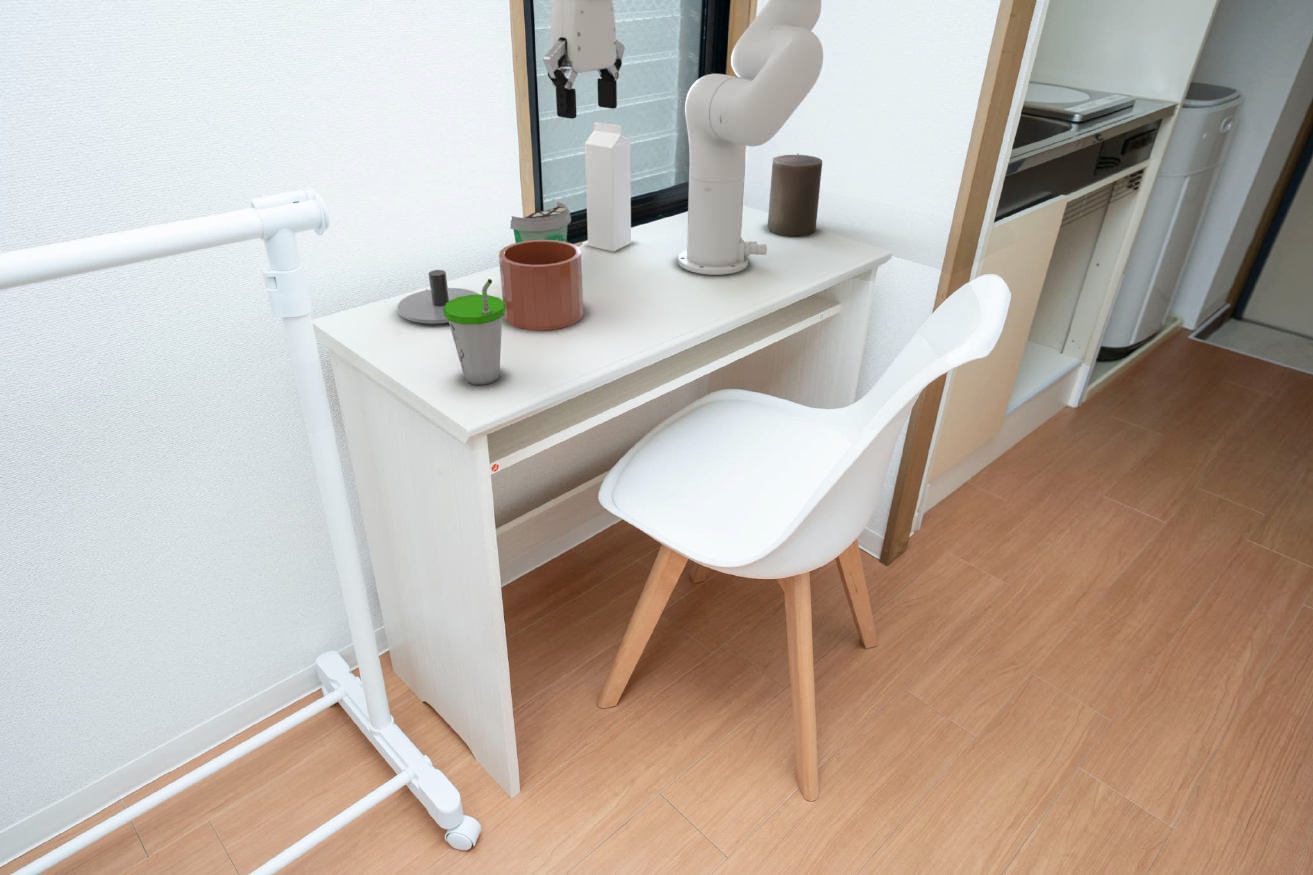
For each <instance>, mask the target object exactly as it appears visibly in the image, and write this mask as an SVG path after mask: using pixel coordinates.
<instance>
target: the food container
mask: <svg viewBox="0 0 1313 875" xmlns="http://www.w3.org/2000/svg"><path fill="white" fill-rule="evenodd" d="M571 222H572V217H571V213H570V210H569V209H568V206H567V204H565V203H563V202H559V201H556V206H555V207H553V208H550V209H547V210H537V211H534V212H532V213H531V214H529V215H527V216H525V217H518V216H513V215H512V216H511V220H510V226H509V228H510V229H511V230H513V235H514V241H515V243H518V242H523V241H530V240H557V241H563V242H568V225H569V224H570V223H571Z"/></svg>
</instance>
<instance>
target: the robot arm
mask: <svg viewBox="0 0 1313 875" xmlns="http://www.w3.org/2000/svg"><path fill="white" fill-rule="evenodd" d="M821 11H822V0H768V1H767V2H766V4H765V5H764V6H763V8H762V10H761V11H760V12H758V15H756V17H755V18H754V19H753V20H752V22H751V23H750V24H749V26H748V27H747V28H746V29H745V31H744V32H743V33H742V35H741V36H740V37H739V39H738V40H737V42H736V44H734V47H733V49H732V52H731V56H730V63H731V64H730V65H731V69H732V70H733V72H734V74H735V75H736V76H734V75H728V74H723V73H711V74H705V75H703V76H701V77H700V78H698V79H697V80H695V82H694V83H692V85H691V87H690V88H689V90H688V92H687V94H686V98H685V106H684V113H685V114H684V115H685V123H686V129H687V136H688V147H689V150H688V151H689V168H688V169H689V170H688V172H689V173H688V197H687V198H688V199H687V200H688V201H687V203H688V204H687V208H688V209H687V231H686V232H687V236H686V241H687V242H686V249H685V250H683V251H682V252H680V253H679V254H678V256H677V263H678V265H679V266H680V267H681V268H682V269H683V270H686V271H688V272H691V273H695V274H701V275H709V276H721V275H722V276H723V275H730V274H735V273H736V274H737V273H739V272H741V271H744V270H745V269H747V267H748V265H749V257H750V255H756V256H766V255H767V253H768V246H767V243H758V241H757V240H749V241H745V240H744V239H743V238H742V226H743V212H744V211H743V210H744V196H745V195H744V194H745V180H746V179H745V178H746V158H745V157H746V154H745V150H744V149H745V148H744V146H745V147H758V146H759V147H760V146H762V145H764V144H766V143H767V142H769V141H770V140H771V139H773V137H775V135H777V133H778V132H779V131H780V130H781V129H782V128H783V127H784V125H785V124H786V123H787V121H788V120H789V119H790V117H791V116H792V115H793V114H794V113H795V111H796V110H797V109H798V108H799V106H800V105H801V104H802V102H803V101H804V100H805V98H806V97H807V96H808V95H809V94H810V92H811V90H812V89H813V88H814V86H815V84H816V83H817V82H818V81H817V80H818V79H819V76H820V74H821V71H822V68H823V63H824V49H823V44H822V42H821V40H820V38H819V37H818V36H817V34H816V33H814V32H813V29H814V28H815V26H816V25H817V23H818V21H819V19H820V16H821V13H822V12H821ZM550 15H551V16H550V49H549V51H547V52H546V54H545V55H544V56H543V60H542V61H543V64H544V66H545V68H546V71H547V77H548V78H549V80H550V81H551V83H552V84H551V85H552V87H553V88H554V89H555V103H556V116H557V117H558V118H565V119H571V120H573V119H576V118H577V93H576V92H577V91H576V88H573V86H574V85H575V84H574V83H575V81H576V79H577V77H578V74H582V73H583V74H584V73H589V72H594V71H596V72H597V73H598V75H599V77H598V78H597V81H596V82H597V83H596V84H597V105H598V107H599V108H605V109H611V110H612V109H617V107H618V90H617V88H618V86H617V83H618V82H617V80H619V78H620V73H619V71H620V69H621V68H622V65H623V61H622V60H623V58H624V54H625V50H626V49H625V45H624V44H623V43H621V42H620V41H619V40H618V39H617V30H616V16H615V9H614V0H552V4H551V14H550ZM566 74H567V75H566Z"/></svg>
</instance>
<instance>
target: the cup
mask: <svg viewBox="0 0 1313 875" xmlns="http://www.w3.org/2000/svg"><path fill="white" fill-rule="evenodd" d="M492 283H493V279H491V278H488V279H487V281H486V282H485V284H484V285H483V287H482V289H481V294H480V295H467V296H462V297H457V298H455V299H453V300H451V301H449V302H447V303H446V304H445V306H444V308H443V312H444V316H445V317H446V318H447V319H448V320H449V322H448V323H449V327H450V331H451V334H452V338H453V342H454V345H455V349H456V352H457V353H456V354H457V357H458V360H459V363H460V367H461V371H462V375H463V379H464V380H465V382H466V383H467V384H471V385H474V386H486V385H490V384H493V383H495V382H496V381H498V380H499V378H500V372H501V371H500V370H501V349H502V333H503V332H502V331H503V330H502V329H503V317H505V315H504V313H505V310H506V307H505V302H503V299H502V298H500V297H498V296H494V295H490V294H488V289H489V287H490V286H491V285H492Z"/></svg>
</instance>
